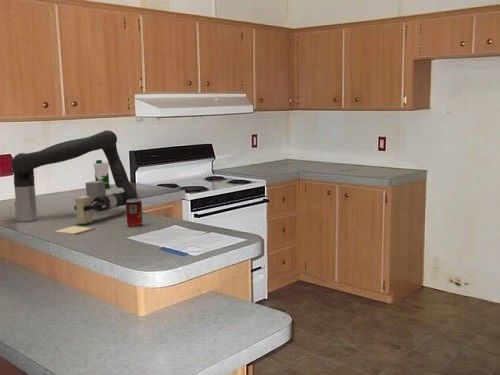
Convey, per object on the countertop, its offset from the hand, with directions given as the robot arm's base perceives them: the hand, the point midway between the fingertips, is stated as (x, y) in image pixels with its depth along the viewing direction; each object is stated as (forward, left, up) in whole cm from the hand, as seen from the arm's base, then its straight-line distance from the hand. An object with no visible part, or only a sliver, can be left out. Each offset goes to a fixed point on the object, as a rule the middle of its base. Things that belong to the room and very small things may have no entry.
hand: (79, 208), depth 245 cm
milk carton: (-80, +100, -8) cm, 128 cm away
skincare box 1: (0, +3, -7) cm, 8 cm away
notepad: (+5, -9, -8) cm, 13 cm away
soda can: (+24, +10, -8) cm, 27 cm away
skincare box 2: (-22, +34, -8) cm, 41 cm away
